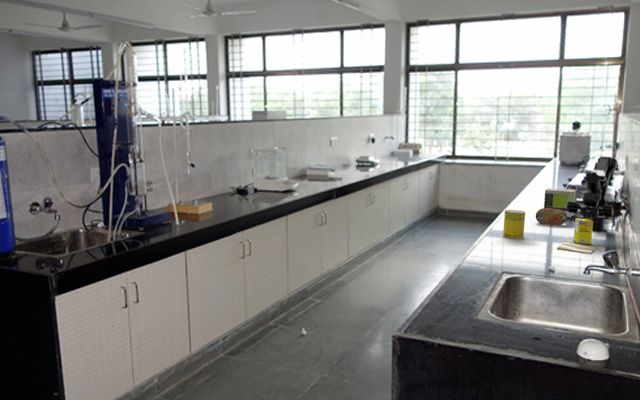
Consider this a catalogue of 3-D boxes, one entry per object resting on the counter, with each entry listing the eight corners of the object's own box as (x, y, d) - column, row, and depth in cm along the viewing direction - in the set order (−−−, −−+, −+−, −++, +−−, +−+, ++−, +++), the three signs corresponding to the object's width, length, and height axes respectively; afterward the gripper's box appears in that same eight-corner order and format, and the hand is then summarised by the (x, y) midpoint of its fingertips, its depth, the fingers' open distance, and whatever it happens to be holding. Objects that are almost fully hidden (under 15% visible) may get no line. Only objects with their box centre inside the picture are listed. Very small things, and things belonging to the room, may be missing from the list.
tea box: (574, 215, 296) (576, 189, 294) (571, 218, 288) (574, 191, 286) (545, 212, 304) (547, 187, 302) (542, 215, 296) (544, 189, 294)
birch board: (564, 242, 233) (564, 241, 233) (596, 247, 226) (596, 246, 225) (557, 248, 223) (557, 247, 223) (590, 254, 215) (590, 252, 215)
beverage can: (524, 239, 240) (526, 213, 238) (504, 238, 242) (506, 212, 240) (521, 234, 249) (523, 210, 247) (501, 233, 250) (503, 209, 248)
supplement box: (591, 245, 229) (593, 221, 227) (576, 244, 230) (578, 220, 228) (587, 242, 235) (589, 218, 233) (573, 241, 236) (575, 218, 234)
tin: (535, 223, 274) (536, 207, 273) (535, 222, 277) (536, 206, 275) (566, 226, 268) (567, 210, 267) (566, 224, 271) (567, 209, 270)
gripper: (569, 184, 242) (561, 210, 235) (614, 187, 230) (608, 215, 224) (571, 198, 249) (564, 224, 242) (615, 203, 238) (609, 230, 231)
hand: (585, 223), depth 235 cm, fingers closed
